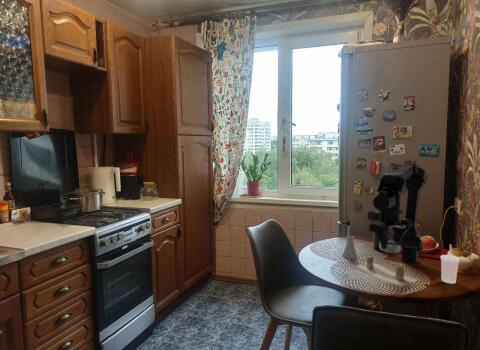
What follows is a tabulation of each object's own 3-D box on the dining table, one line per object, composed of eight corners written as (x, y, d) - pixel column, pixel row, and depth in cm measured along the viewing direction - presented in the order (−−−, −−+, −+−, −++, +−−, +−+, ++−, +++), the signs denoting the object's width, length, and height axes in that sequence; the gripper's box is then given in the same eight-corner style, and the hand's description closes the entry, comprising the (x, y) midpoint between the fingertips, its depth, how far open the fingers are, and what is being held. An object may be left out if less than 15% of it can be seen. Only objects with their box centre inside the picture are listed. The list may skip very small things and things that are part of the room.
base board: (369, 263, 143) (370, 250, 142) (420, 282, 124) (421, 266, 124) (350, 269, 137) (351, 255, 136) (401, 289, 118) (401, 273, 118)
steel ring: (387, 245, 132) (387, 239, 132) (403, 250, 126) (404, 244, 126) (375, 248, 129) (376, 242, 129) (392, 254, 123) (392, 247, 123)
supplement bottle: (389, 249, 162) (390, 224, 161) (387, 253, 156) (388, 228, 155) (374, 246, 166) (375, 223, 165) (371, 250, 160) (372, 226, 159)
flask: (359, 262, 145) (360, 239, 144) (342, 260, 147) (342, 238, 146) (357, 256, 152) (357, 235, 151) (340, 255, 154) (341, 234, 153)
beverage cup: (451, 285, 121) (453, 248, 120) (435, 279, 127) (437, 243, 126) (462, 282, 124) (464, 245, 122) (446, 276, 129) (448, 241, 128)
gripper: (388, 201, 137) (387, 238, 139) (357, 205, 128) (356, 245, 130) (414, 205, 128) (412, 245, 129) (382, 211, 118) (380, 253, 120)
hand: (390, 247), depth 127 cm, fingers closed on steel ring, 7 cm apart
